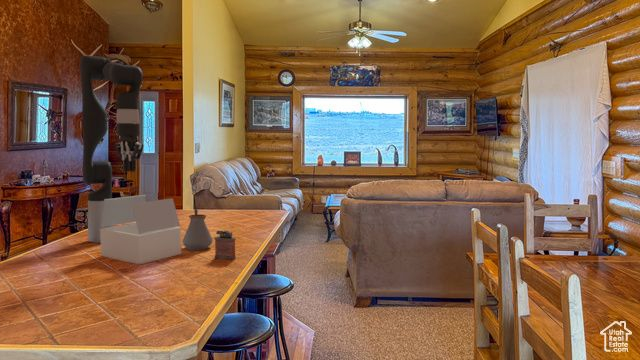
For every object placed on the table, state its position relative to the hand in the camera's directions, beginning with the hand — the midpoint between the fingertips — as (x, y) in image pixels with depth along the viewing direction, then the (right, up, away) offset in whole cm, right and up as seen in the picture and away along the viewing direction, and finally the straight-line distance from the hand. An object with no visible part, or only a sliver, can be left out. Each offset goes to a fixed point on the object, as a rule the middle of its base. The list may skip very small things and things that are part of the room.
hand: (129, 171), depth 170 cm
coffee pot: (+19, -30, +21) cm, 41 cm away
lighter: (+34, -31, +1) cm, 46 cm away
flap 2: (+10, -16, -1) cm, 18 cm away
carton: (+2, -31, +5) cm, 31 cm away
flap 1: (-6, -15, +9) cm, 18 cm away
